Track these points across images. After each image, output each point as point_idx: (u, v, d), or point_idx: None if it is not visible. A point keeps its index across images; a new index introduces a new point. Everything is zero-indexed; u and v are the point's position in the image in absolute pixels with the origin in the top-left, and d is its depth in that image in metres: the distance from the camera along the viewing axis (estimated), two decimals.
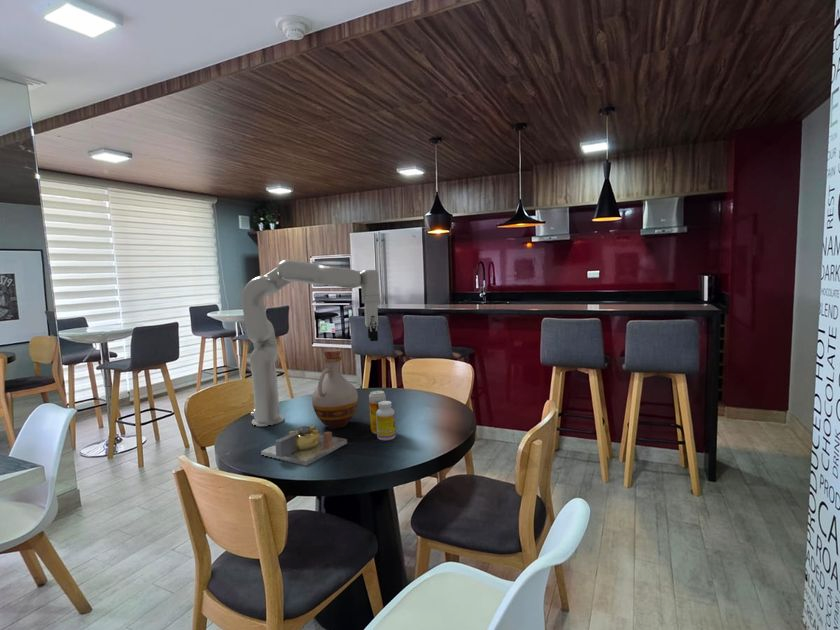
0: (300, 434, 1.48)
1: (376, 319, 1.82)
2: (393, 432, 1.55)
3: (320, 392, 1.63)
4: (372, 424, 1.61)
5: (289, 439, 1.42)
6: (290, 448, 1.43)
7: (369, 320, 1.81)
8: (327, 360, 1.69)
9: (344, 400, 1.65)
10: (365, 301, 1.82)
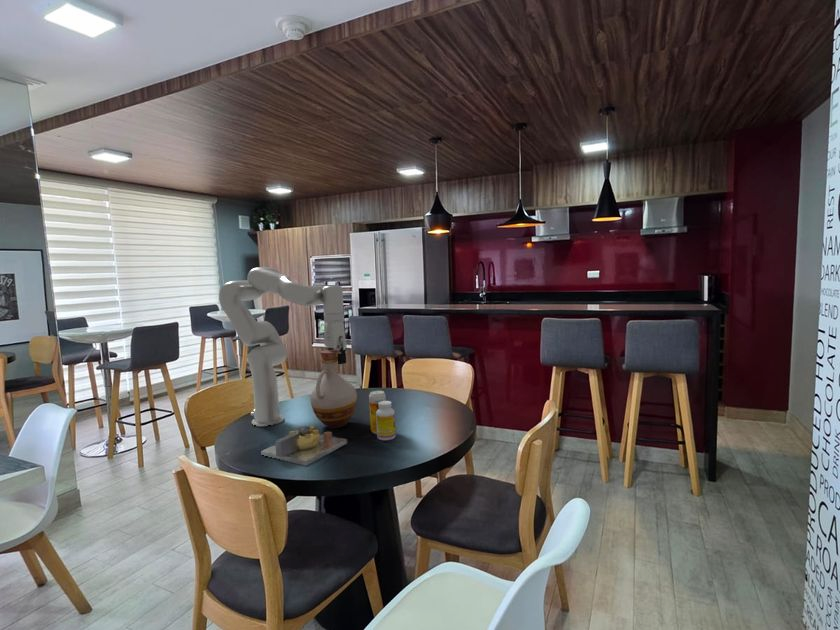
0: (300, 434, 1.48)
1: (344, 339, 1.65)
2: (393, 432, 1.55)
3: (318, 395, 1.61)
4: (372, 424, 1.61)
5: (289, 439, 1.42)
6: (290, 448, 1.43)
7: (337, 341, 1.64)
8: (324, 361, 1.66)
9: (343, 402, 1.64)
10: (331, 320, 1.64)
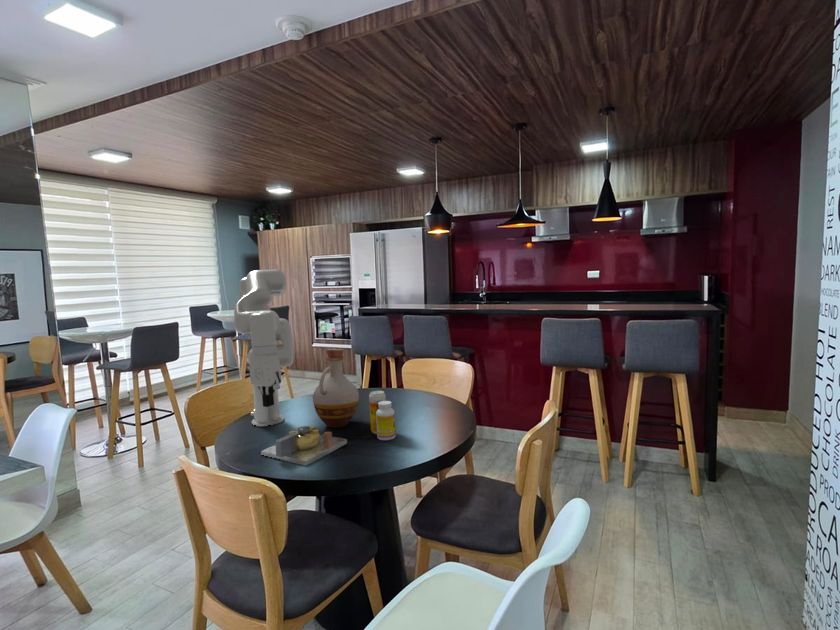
0: (300, 434, 1.48)
1: (280, 375, 1.42)
2: (393, 432, 1.55)
3: (321, 390, 1.63)
4: (372, 424, 1.61)
5: (289, 439, 1.42)
6: (290, 448, 1.43)
7: (273, 378, 1.40)
8: (329, 359, 1.70)
9: (344, 399, 1.66)
10: (264, 354, 1.39)
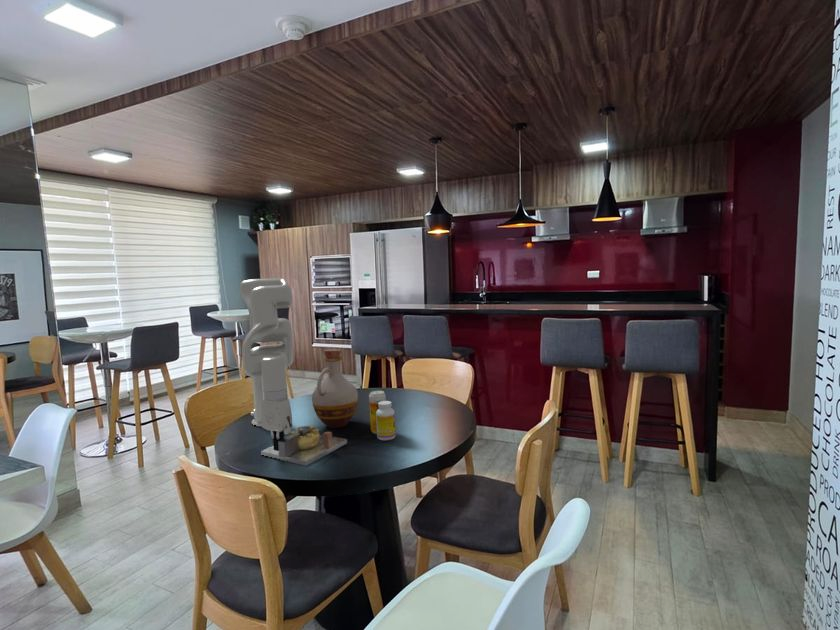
0: (301, 434, 1.48)
1: (291, 419, 1.41)
2: (393, 432, 1.55)
3: (319, 391, 1.63)
4: (372, 424, 1.61)
5: (291, 439, 1.42)
6: (293, 448, 1.42)
7: (284, 423, 1.39)
8: (327, 359, 1.69)
9: (343, 400, 1.65)
10: (275, 399, 1.38)
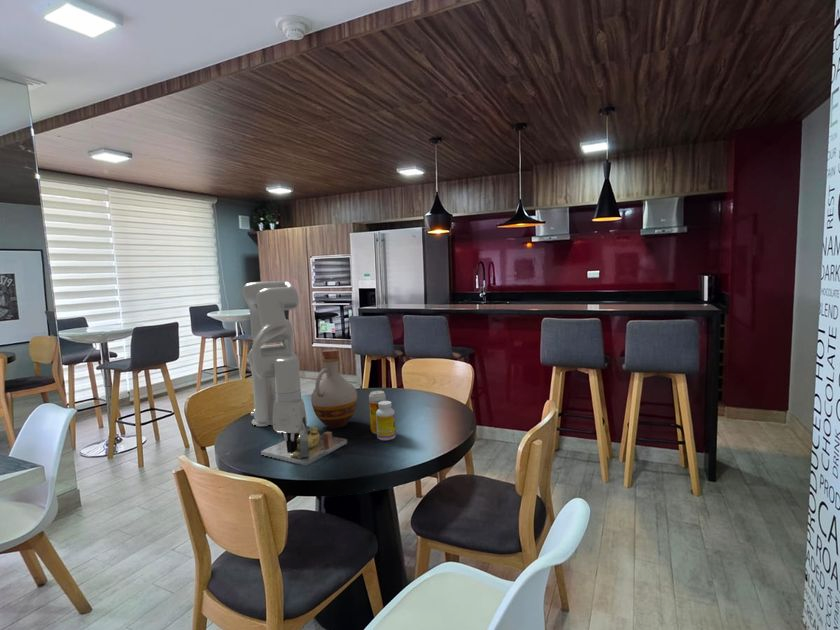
0: None
1: (306, 420, 1.41)
2: (393, 432, 1.55)
3: (317, 392, 1.63)
4: (372, 424, 1.61)
5: (307, 438, 1.42)
6: None
7: (301, 424, 1.38)
8: (325, 360, 1.69)
9: (342, 400, 1.65)
10: (291, 400, 1.37)
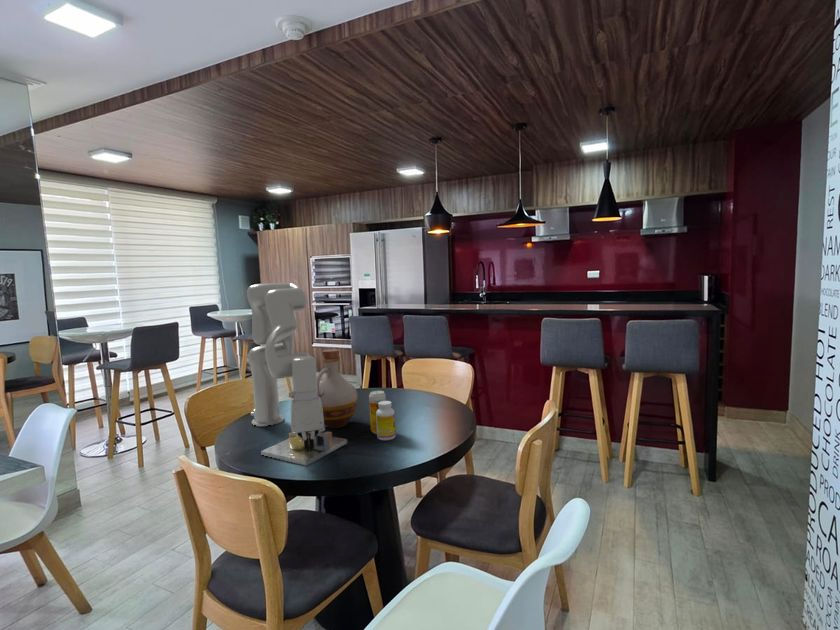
0: (308, 433, 1.48)
1: None
2: (393, 432, 1.55)
3: None
4: (372, 424, 1.61)
5: None
6: None
7: (323, 420, 1.41)
8: (325, 360, 1.69)
9: (342, 400, 1.65)
10: (315, 398, 1.39)
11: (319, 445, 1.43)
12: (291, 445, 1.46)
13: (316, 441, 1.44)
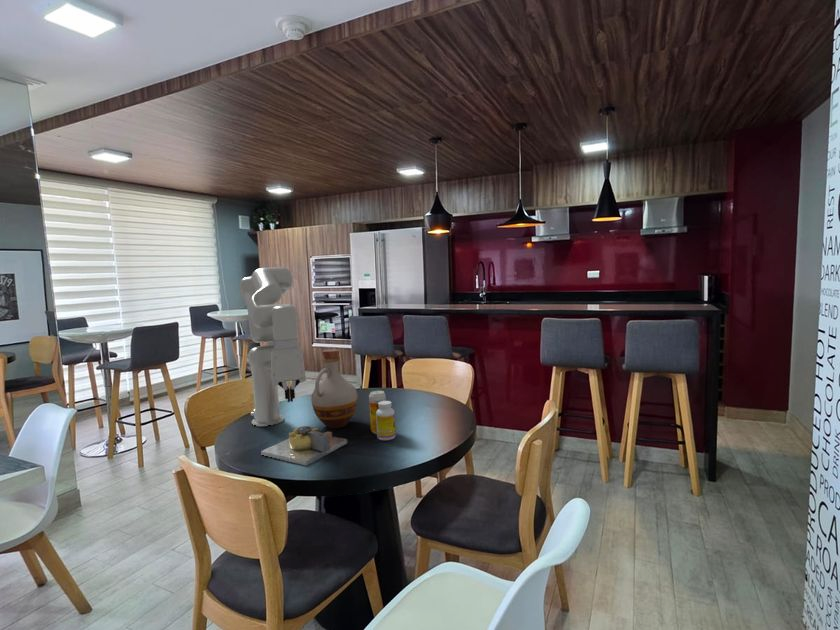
0: (308, 433, 1.48)
1: None
2: (393, 432, 1.55)
3: (317, 392, 1.63)
4: (372, 424, 1.61)
5: None
6: None
7: (304, 370, 1.40)
8: (325, 360, 1.69)
9: (341, 400, 1.65)
10: (295, 347, 1.38)
11: (319, 445, 1.43)
12: (291, 445, 1.46)
13: (316, 441, 1.44)
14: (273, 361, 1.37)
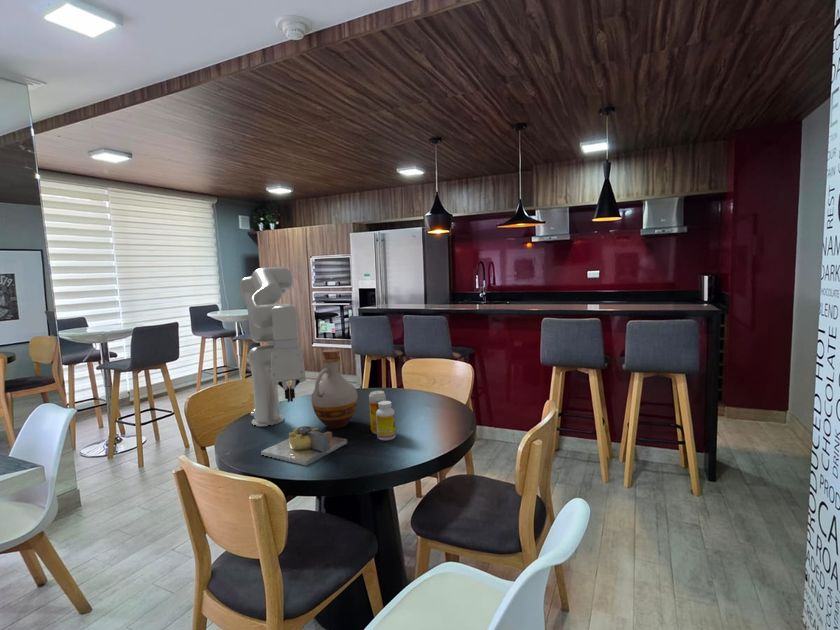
0: (308, 433, 1.48)
1: None
2: (393, 432, 1.55)
3: (317, 392, 1.63)
4: (372, 424, 1.61)
5: None
6: None
7: (304, 369, 1.40)
8: (325, 360, 1.68)
9: (341, 401, 1.65)
10: (295, 346, 1.38)
11: (319, 445, 1.43)
12: (291, 445, 1.46)
13: (316, 441, 1.44)
14: (273, 361, 1.37)
